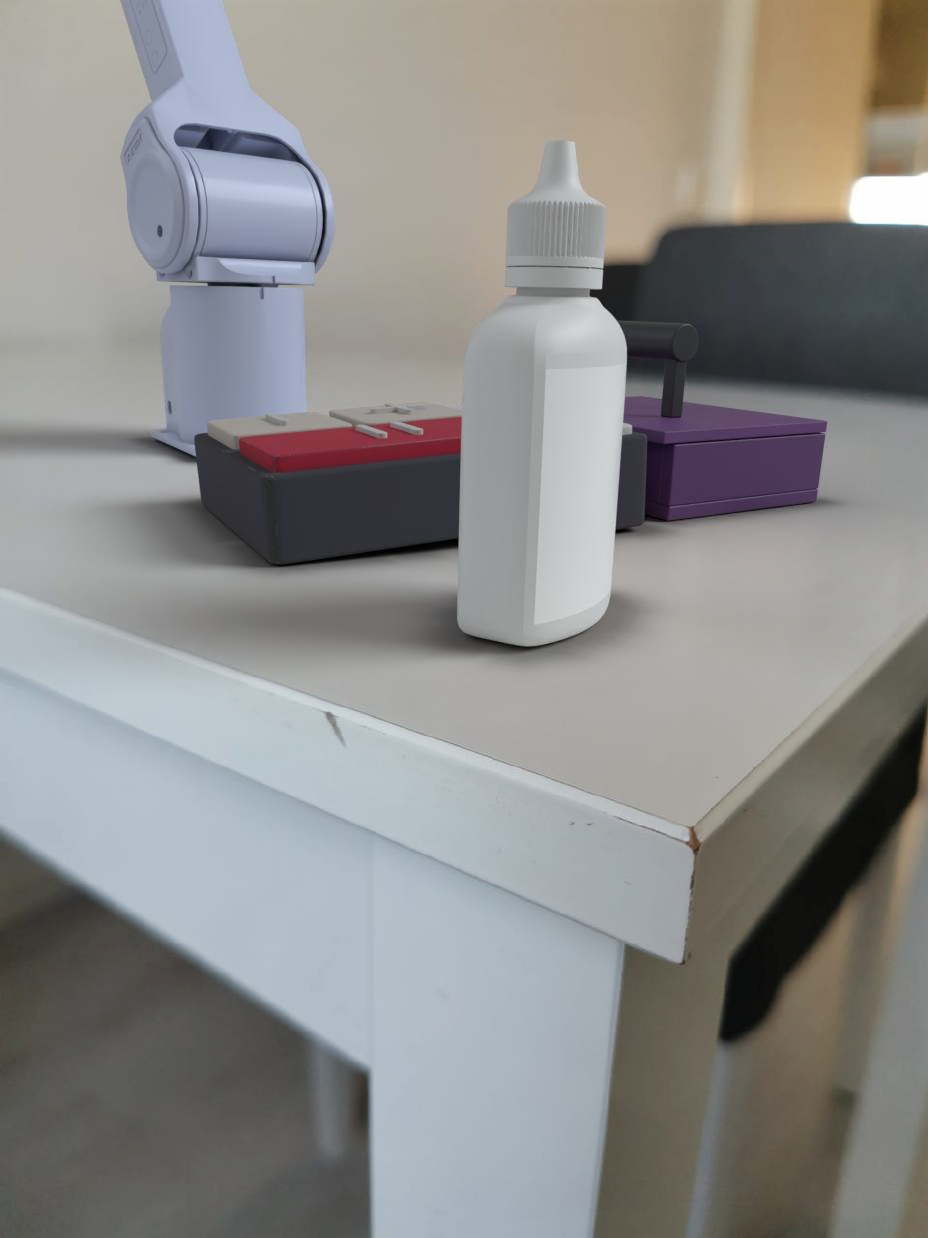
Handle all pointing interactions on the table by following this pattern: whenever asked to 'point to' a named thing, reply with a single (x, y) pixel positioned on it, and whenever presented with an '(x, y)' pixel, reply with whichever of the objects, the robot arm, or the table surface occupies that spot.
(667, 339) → the purple lid
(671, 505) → the purple box
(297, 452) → the grey and red box
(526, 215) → the eye dropper bottle
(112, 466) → the table surface
